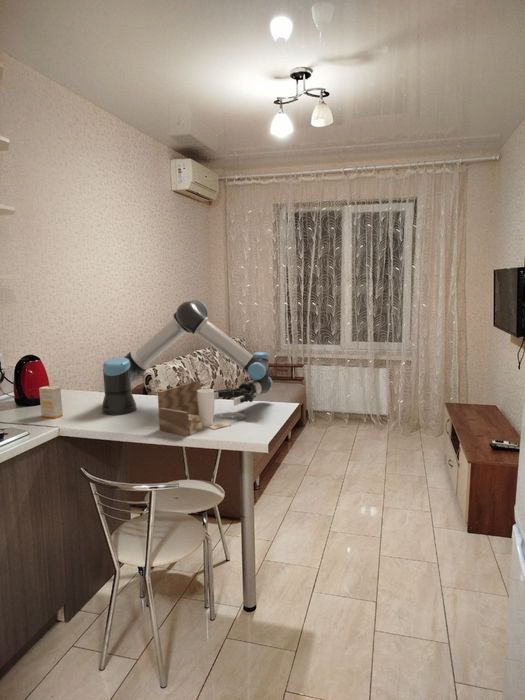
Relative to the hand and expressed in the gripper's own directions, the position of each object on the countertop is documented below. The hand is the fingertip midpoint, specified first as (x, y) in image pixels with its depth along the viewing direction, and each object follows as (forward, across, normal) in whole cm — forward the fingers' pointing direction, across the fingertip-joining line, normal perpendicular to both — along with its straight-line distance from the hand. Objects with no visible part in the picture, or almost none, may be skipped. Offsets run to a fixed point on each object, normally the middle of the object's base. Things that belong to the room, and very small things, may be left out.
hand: (221, 400), depth 197 cm
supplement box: (+31, +70, -9) cm, 77 cm away
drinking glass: (+10, 0, -9) cm, 13 cm away
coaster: (-6, -1, -9) cm, 11 cm away
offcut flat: (+10, -6, -9) cm, 15 cm away
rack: (+13, +4, -9) cm, 16 cm away
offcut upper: (+20, 0, -4) cm, 20 cm away
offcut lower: (+20, 0, -8) cm, 21 cm away
